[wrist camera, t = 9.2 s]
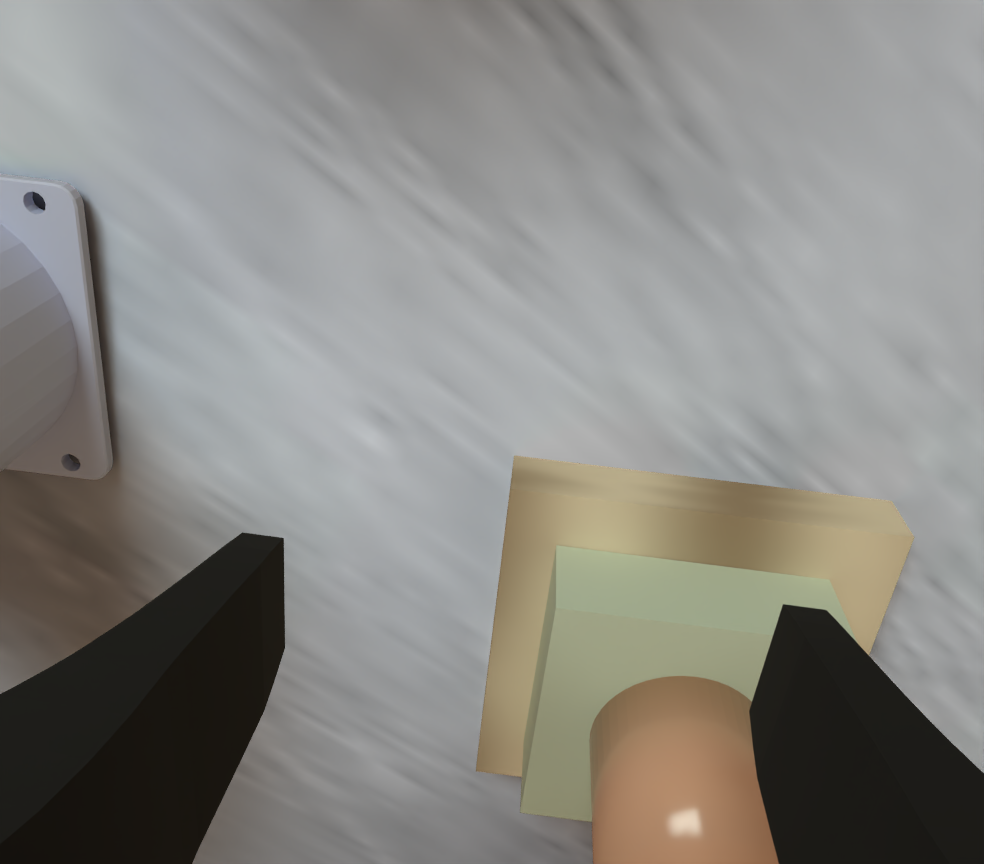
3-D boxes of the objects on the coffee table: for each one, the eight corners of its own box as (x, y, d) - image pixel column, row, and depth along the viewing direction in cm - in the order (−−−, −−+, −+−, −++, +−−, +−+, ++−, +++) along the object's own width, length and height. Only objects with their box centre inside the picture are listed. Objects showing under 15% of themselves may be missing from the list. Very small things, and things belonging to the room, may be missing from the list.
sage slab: (523, 740, 26) (520, 812, 24) (556, 545, 22) (555, 608, 20) (761, 771, 26) (780, 846, 23) (829, 579, 22) (859, 646, 20)
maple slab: (482, 709, 29) (475, 771, 26) (515, 441, 24) (510, 488, 22) (789, 748, 28) (807, 813, 26) (881, 485, 24) (914, 537, 22)
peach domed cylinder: (579, 793, 23) (582, 963, 19) (602, 664, 21) (611, 825, 17) (747, 813, 23) (785, 988, 19) (786, 686, 21) (839, 852, 17)
